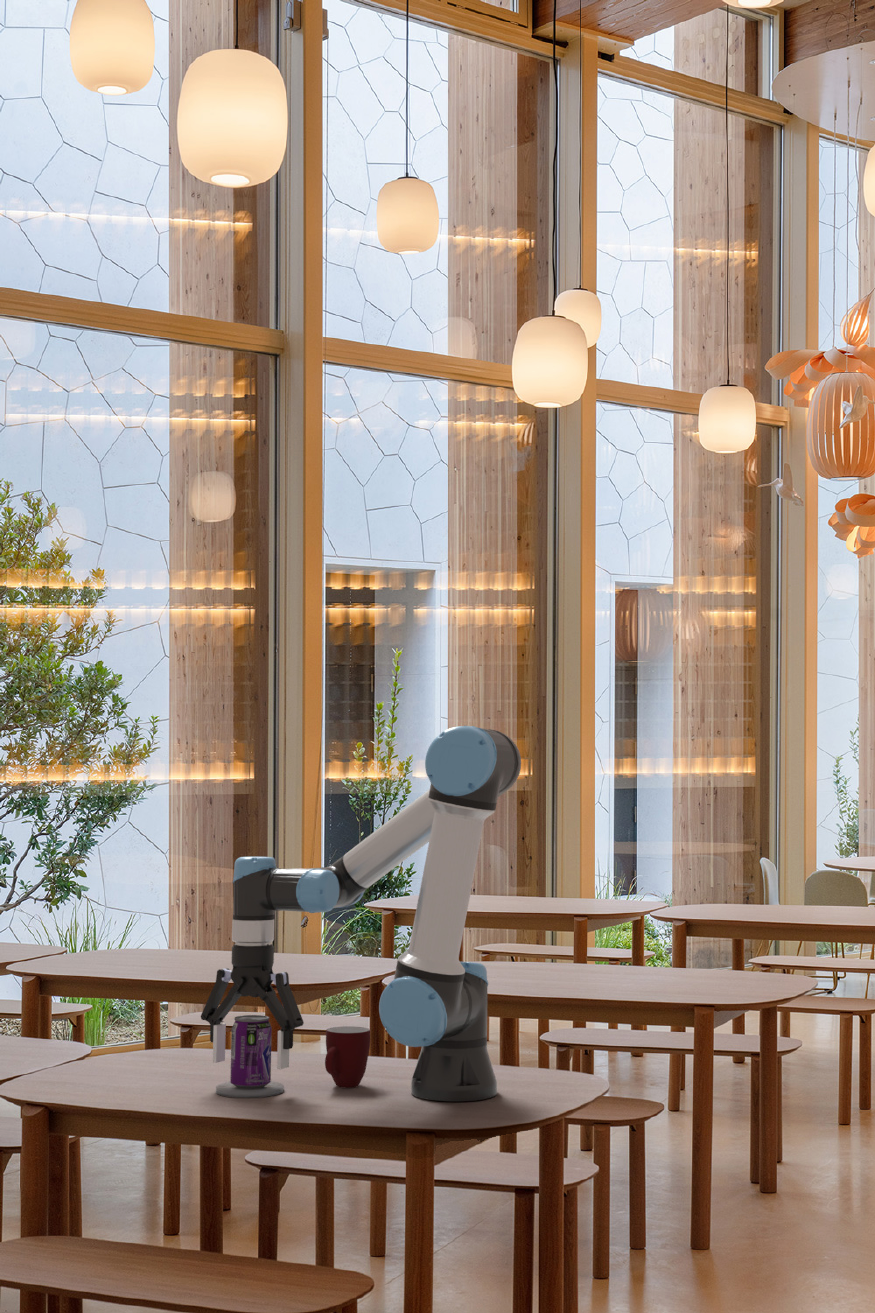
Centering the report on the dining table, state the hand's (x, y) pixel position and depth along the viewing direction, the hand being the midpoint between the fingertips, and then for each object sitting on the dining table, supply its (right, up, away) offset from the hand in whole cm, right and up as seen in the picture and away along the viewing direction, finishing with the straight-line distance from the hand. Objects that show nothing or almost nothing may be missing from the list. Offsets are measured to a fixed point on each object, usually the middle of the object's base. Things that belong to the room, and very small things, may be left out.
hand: (250, 1065), depth 248 cm
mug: (+16, -5, +4) cm, 18 cm away
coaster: (0, -5, -1) cm, 4 cm away
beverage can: (0, -4, 0) cm, 4 cm away
